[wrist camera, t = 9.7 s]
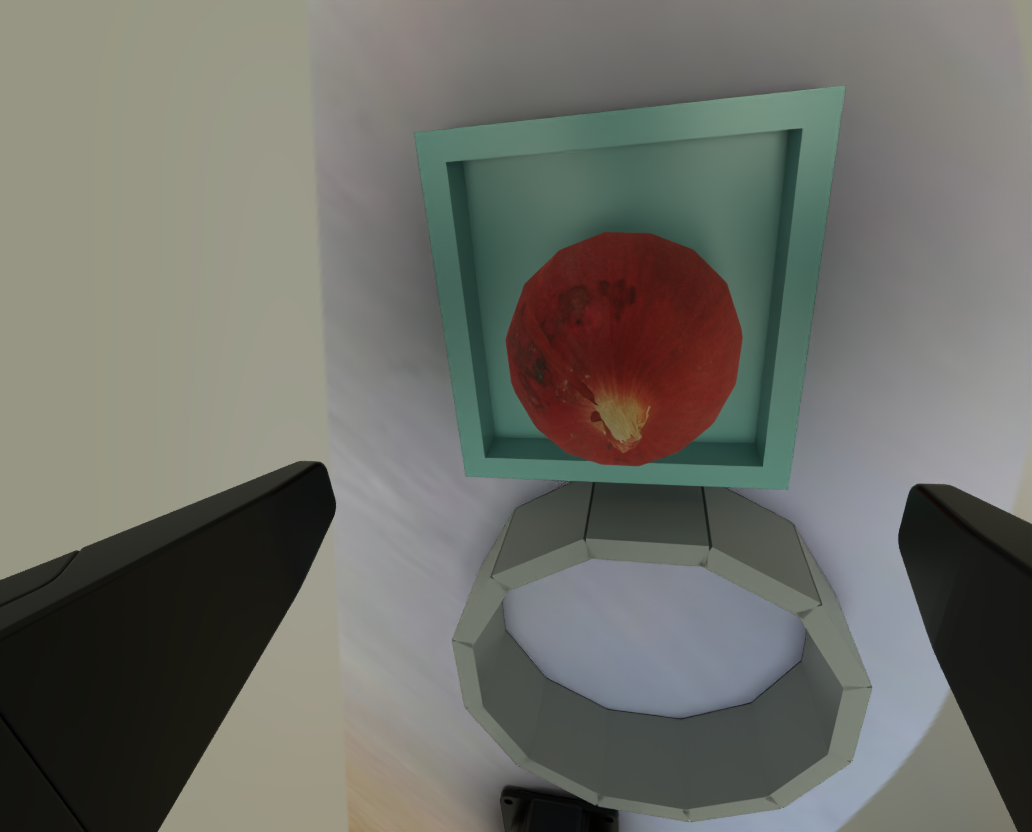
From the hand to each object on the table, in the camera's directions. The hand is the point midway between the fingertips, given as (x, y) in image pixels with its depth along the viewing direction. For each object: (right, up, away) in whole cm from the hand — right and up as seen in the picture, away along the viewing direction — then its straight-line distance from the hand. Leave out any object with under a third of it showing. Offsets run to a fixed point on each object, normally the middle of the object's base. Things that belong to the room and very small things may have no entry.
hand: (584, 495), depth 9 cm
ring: (+4, -7, +15) cm, 17 cm away
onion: (+2, +5, +9) cm, 11 cm away
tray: (+2, +5, +9) cm, 11 cm away
